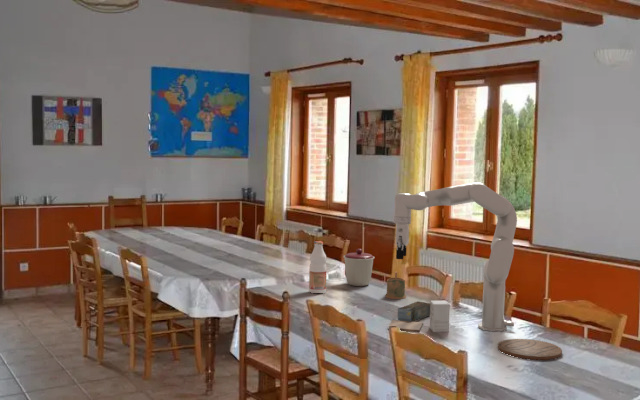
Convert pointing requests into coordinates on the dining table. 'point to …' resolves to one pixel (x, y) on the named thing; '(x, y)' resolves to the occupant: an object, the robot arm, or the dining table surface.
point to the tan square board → (407, 325)
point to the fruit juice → (317, 269)
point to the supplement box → (439, 316)
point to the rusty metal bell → (395, 288)
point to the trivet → (530, 349)
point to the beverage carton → (414, 311)
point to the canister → (358, 268)
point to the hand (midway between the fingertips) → (401, 257)
